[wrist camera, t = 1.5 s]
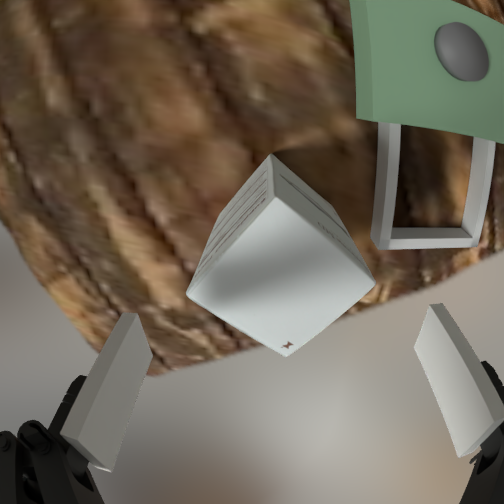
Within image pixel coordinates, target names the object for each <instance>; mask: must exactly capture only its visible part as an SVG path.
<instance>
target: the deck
mask: <svg viewBox="0 0 504 504" xmlns="http://www.w3.org/2000/svg"><path fill="white" fill-rule="evenodd" d="M350 8H351V17H352V28H353V39H354V54H355V73H356V118H358V119H363V120H369V121H375V122H378V151H377V170H376V184H375V196H374V207H373V217H372V226H371V234H370V238H371V240H372V241H373V242H374V244H375V245H376V247H377V248H378V250H387V249H422V248H457V247H477V246H478V242H479V239H480V235H481V230H482V226H483V222H484V217H485V212H486V208H487V202H488V197H489V191H490V185H491V178H492V171H493V163H494V154H495V142H498V143H502V144H504V25H503V24H501V23H499V22H497V21H495V20H493V19H491V18H489V17H487V16H485V15H483V14H481V13H479V12H477V11H475V10H473V9H470V8H468V7H466V6H464V5H461V4H459V3H456V2H454V1H451V0H350ZM401 124H403V125H411V126H418V127H425V128H431V129H437V130H443V131H449V132H454V133H459V134H464V135H469V136H473V137H474V141H473V153H472V163H471V172H470V179H469V186H468V193H467V199H466V204H465V210H464V215H463V220H462V225H461V228H392V224H393V217H394V209H395V200H396V191H397V181H398V169H399V155H400V135H401Z"/></svg>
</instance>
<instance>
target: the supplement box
mask: <svg viewBox="0 0 504 504" xmlns="http://www.w3.org/2000/svg"><path fill="white" fill-rule="evenodd" d="M375 284H376V281H375V279H374V278H373V276H372V274H371V272H370V270H369V269H368V267H367V265H366V263H365V261H364V260H363V258H362V256H361V254H360V252H359V251H358V249H357V247H356V245H355V244H354V242H353V240H352V238H351V236H350V235H349V233H348V231H347V229H346V228H345V226H344V224H343V223H342V221H341V219H340V218H339V216H338V214H337V213H336V211H335V210H334V208H333V206H332V205H331V204H330V203H328V202H327V201H326V200H325V199H323V198H322V197H321V196H320V195H319V194H317V193H316V192H315V191H314V190H313V189H312V188H310V187H309V186H308V185H307V184H306V183H305V182H304V181H303V180H301V179H300V178H299V177H298V176H297V175H296V174H294V173H293V172H292V171H291V170H290V169H289V168H287V167H286V166H285V165H284V164H283V163H282V162H281V161H280V160H278V159H277V158H276V157H275V156H274V155H273V154H269V156H268V157H267V158H266V159H265V160H264V162H263V163H262V164H261V165H260V166H259V168H258V169H257V170H256V171H255V172H254V173H253V175H252V176H251V177H250V178H249V179H248V180H247V182H246V183H245V184H244V185H243V186H242V187H241V189H240V190H239V191H238V192H237V193H236V195H235V196H234V197H233V198H232V200H231V201H230V202H229V203H228V204H227V206H226V207H225V208H224V209H223V211H222V212H221V213H220V215H219V217H218V219H217V221H216V223H215V225H214V228H213V230H212V232H211V235H210V237H209V240H208V242H207V244H206V247H205V250H204V252H203V255H202V257H201V260H200V262H199V265H198V267H197V270H196V272H195V275H194V277H193V279H192V281H191V283H190V285H189V287H188V289H187V292H186V295H187V296H188V297H189V298H190V299H191V300H193V301H194V302H196V303H197V304H199V305H200V306H202V307H204V308H205V309H207V310H208V311H210V312H211V313H213V314H215V315H216V316H218V317H219V318H221V319H222V320H224V321H226V322H227V323H229V324H231V325H232V326H234V327H235V328H237V329H238V330H240V331H241V332H243V333H245V334H247V335H248V336H250V337H252V338H253V339H255V340H257V341H259V342H260V343H262V344H264V345H265V346H267V347H269V348H270V349H272V350H274V351H276V352H277V353H279V354H281V355H282V356H284V357H288V356H289V355H290V354H292V353H293V352H295V351H296V350H297V349H299V348H300V347H302V346H303V345H304V344H306V343H307V342H308V341H310V340H311V339H312V338H313V337H315V336H316V335H317V334H318V333H320V332H321V331H322V330H324V329H325V328H326V327H327V326H328V325H330V324H331V323H332V322H333V321H335V320H336V319H337V318H338V317H340V316H341V315H342V314H343V313H344V312H345V311H347V310H348V309H349V308H350V307H351V306H352V305H354V304H355V303H356V302H357V301H358V300H359V299H361V298H362V297H363V296H364V295H365V294H366V293H367V292H369V291H370V290H371V289H372V288H373V287H374V286H375Z"/></svg>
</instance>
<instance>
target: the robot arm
mask: <svg viewBox="0 0 504 504" xmlns="http://www.w3.org/2000/svg"><path fill="white" fill-rule="evenodd" d="M414 349H415V351H416V354H417V355H418V357H419V360H420V362H421V364H422V367H423V369H424V371H425V373H426V375H427V378H428V380H429V382H430V384H431V387H432V389H433V392H434V394H435V396H436V399H437V402H438V404H439V406H440V409H441V411H442V414H443V417H444V419H445V422H446V425H447V427H448V430H449V432H450V435H451V438H452V441H453V444H454V446H455V449H456V453H457V456H458V458H460V457H462V456H465V455H467V454H470V453H472V452H473V451H474V450H475V449H477V448H478V447H479V446H481V449H482V450H481V451H480V452H479V453H478V454H477V455H476V456H474V457H473V458H472V459H471V461H470V464H471V463H472V462H474V461H475V460H476V459H477V460H476V463H475V464H474V465H475V466H474V469H473V472H472V474H471V477H470V480H469V482H468V485H467V487H466V489H465V492H464V494H463V496H462V499H461V501H460V503H459V504H504V386H502V385H503V384H502V382H501V380H500V379H499V378H498V375H497V373H496V372H495V370H494V368H493V367H492V366H491V365H490V364H488V363H487V362H486V361H483V362H480V361H479V359H478V357H477V356H476V354H475V352H474V351H473V349H472V347H471V346H470V344H469V343H468V341H467V339H466V338H465V336H464V335H463V333H462V332H461V330H460V329H459V327H458V326H457V324H456V322H455V321H454V320H453V318H452V317H451V315H450V314H449V312H448V311H447V309H446V308H445V306H444V305H443V304H442V303H440V304H432V305H429V307H428V311H427V313H426V317H425V319H424V322H423V325H422V328H421V330H420V333H419V336H418V339H417V341H416V343H415V346H414ZM152 357H153V355H152V353H151V350H150V347H149V345H148V342H147V339H146V336H145V334H144V331H143V328H142V325H141V322H140V319H139V316H138V313H122V315H121V317H120V318H119V320H118V322H117V324H116V325H115V327H114V329H113V331H112V332H111V334H110V336H109V338H108V339H107V341H106V343H105V345H104V347H103V348H102V350H101V352H100V354H99V356H98V358H97V359H96V361H95V363H94V365H93V367H92V369H91V371H90V373H89V375H88V376H83V375H80V376H78V377H77V378H76V379H75V380H74V381H73V382H72V383H71V385H70V387H69V389H68V391H67V394H66V395H65V396H64V398H63V400H62V401H63V402H62V403H61V404H60V406H59V408H58V410H57V412H56V414H55V416H54V418H53V420H52V422H51V424H50V426H49V428H48V430H47V429H46V428H45V427H44V426H43V425H42V424H41V423H40V422H39V421H36V420H30V421H27V422H25V423H23V425H22V426H21V427H20V428H19V431H18V433H17V437H16V436H14V435H13V434H12V433H11V432H10V431H2V432H0V504H104V501H103V499H102V497H101V495H100V493H99V491H98V489H97V487H96V485H95V482H94V480H93V478H92V475H91V473H90V471H89V469H88V468H87V466H88V463H89V462H90V463H91V464H92V465H94V466H95V467H96V468H99V469H102V470H106V471H109V472H112V471H113V468H114V464H115V461H116V458H117V455H118V452H119V449H120V445H121V442H122V439H123V437H124V434H125V431H126V428H127V425H128V422H129V419H130V416H131V413H132V411H133V408H134V405H135V402H136V399H137V397H138V394H139V391H140V388H141V386H142V383H143V380H144V378H145V375H146V372H147V370H148V367H149V364H150V362H151V359H152Z"/></svg>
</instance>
